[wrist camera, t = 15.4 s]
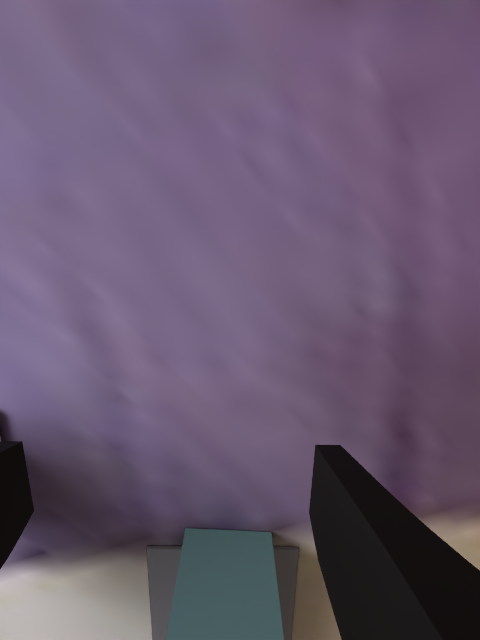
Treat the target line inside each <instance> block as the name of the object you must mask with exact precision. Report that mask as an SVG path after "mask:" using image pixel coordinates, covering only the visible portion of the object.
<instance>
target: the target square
mask: <svg viewBox="0 0 480 640" xmlns="http://www.w3.org/2000/svg"><path fill="white" fill-rule="evenodd" d="M146 550H147V564H148V579H149V594H150V609H151V624H152V639H153V640H166V636H167V630H168V624H169V619H170V613H171V607H172V601H173V596H174V590H175V584H176V579H177V573H178V567H179V561H180V556H181V550H182V546H147V549H146ZM273 551H274V560H275V568H276V576H277V585H278V593H279V602H280V610H281V619H282V627H283V635H284V640H291V637H292V626H293V614H294V603H295V591H296V580H297V568H298V557H299V547H273Z"/></svg>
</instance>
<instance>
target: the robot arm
mask: <svg viewBox="0 0 480 640" xmlns="http://www.w3.org/2000/svg"><path fill="white" fill-rule="evenodd" d="M33 511H34V507H33V502H32V496H31V490H30V484H29V479H28V473H27V467H26V461H25V456H24V450H23V444H22V442H14V441H1V437H0V569H1V567H2V566H3V564H4V563H5V561H6V560H7V558H8V557H9V555H10V553H11V552H12V550H13V548H14V546H15V545H16V543H17V541H18V539H19V538H20V536H21V534H22V532H23V530H24V528H25V526H26V525H27V523H28V521H29V519H30V517H31V515H32V513H33ZM309 514H310V520H311V525H312V531H313V536H314V541H315V546H316V551H317V556H318V561H319V564H320V568H321V571H322V574H323V578H324V581H325V585H326V588H327V592H328V595H329V598H330V602H331V605H332V608H333V612H334V615H335V619H336V622H337V625H338V629H339V632H340V635H341V639H342V640H480V571H479V570H478V569H477V568H476V567H474V566H473V565H472V564H471V563H469V562H468V561H467V560H466V559H465V558H463V557H462V556H461V555H460V554H459V553H458V552H456V551H455V550H454V549H453V548H452V547H450V546H449V545H448V544H447V543H446V542H444V541H443V540H442V539H441V538H440V537H439V536H437V535H436V534H435V533H434V532H433V531H431V530H430V529H429V528H428V527H427V526H426V525H425V524H424V523H422V522H421V521H420V520H419V519H418V518H417V517H416V516H415V515H413V514H412V513H411V512H410V511H409V510H408V509H407V508H406V507H405V506H403V505H402V504H401V503H400V502H399V501H398V500H397V499H396V498H395V497H394V496H393V495H392V494H391V493H389V492H388V491H387V490H386V489H385V488H384V487H383V486H382V485H381V484H380V483H379V482H378V481H377V480H376V479H375V478H374V477H373V476H372V475H371V474H370V473H369V472H367V471H366V470H365V469H364V468H363V467H362V466H361V465H360V464H359V463H358V462H357V461H356V460H355V459H354V458H353V457H352V456H351V455H350V454H349V453H348V452H347V451H346V450H345V449H344V448H343V447H341V446H340V445H315V456H314V466H313V477H312V488H311V499H310V509H309Z"/></svg>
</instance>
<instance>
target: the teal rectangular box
mask: <svg viewBox="0 0 480 640" xmlns="http://www.w3.org/2000/svg"><path fill="white" fill-rule="evenodd" d="M166 640H284V635H283V627H282V619H281V610H280V602H279V593H278V585H277V576H276V568H275V560H274V551H273V543H272V534H271V532H259V531H238V530H217V529H196V528H185V533H184V539H183V544H182V550H181V556H180V561H179V567H178V573H177V579H176V584H175V590H174V596H173V601H172V607H171V613H170V619H169V624H168V630H167V636H166Z"/></svg>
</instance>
